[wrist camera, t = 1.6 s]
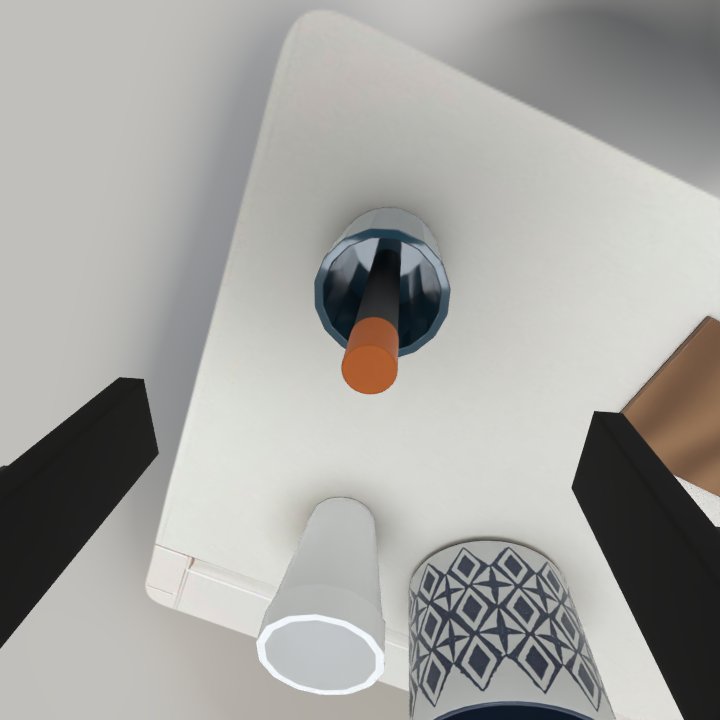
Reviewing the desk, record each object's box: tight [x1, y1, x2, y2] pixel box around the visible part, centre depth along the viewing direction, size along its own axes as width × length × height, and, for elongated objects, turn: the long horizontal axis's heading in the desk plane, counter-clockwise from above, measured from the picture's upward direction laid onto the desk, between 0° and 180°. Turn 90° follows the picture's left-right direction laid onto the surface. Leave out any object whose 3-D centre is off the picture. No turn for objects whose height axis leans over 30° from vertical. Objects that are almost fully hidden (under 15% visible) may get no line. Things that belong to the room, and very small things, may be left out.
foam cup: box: [256, 497, 385, 695], centre depth 38 cm, size 10×9×13 cm
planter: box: [409, 541, 616, 720], centre depth 40 cm, size 16×16×14 cm
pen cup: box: [314, 207, 450, 357], centre depth 29 cm, size 7×7×9 cm
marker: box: [342, 249, 401, 394], centre depth 24 cm, size 2×2×17 cm
